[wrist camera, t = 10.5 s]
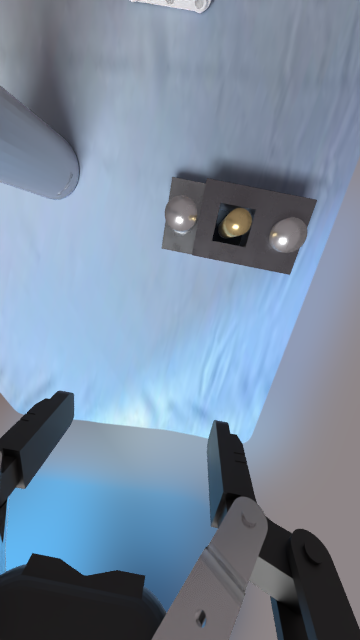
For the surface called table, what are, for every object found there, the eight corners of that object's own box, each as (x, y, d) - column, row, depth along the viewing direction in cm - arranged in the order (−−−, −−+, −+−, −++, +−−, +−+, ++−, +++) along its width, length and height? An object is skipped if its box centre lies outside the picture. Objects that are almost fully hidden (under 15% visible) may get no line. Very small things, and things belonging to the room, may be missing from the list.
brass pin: (220, 217, 34) (229, 205, 24) (238, 220, 34) (255, 210, 24) (216, 236, 35) (223, 232, 25) (233, 240, 35) (247, 237, 25)
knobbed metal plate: (163, 248, 36) (157, 248, 30) (174, 182, 32) (168, 166, 26) (277, 271, 36) (294, 275, 30) (299, 206, 32) (323, 197, 26)
